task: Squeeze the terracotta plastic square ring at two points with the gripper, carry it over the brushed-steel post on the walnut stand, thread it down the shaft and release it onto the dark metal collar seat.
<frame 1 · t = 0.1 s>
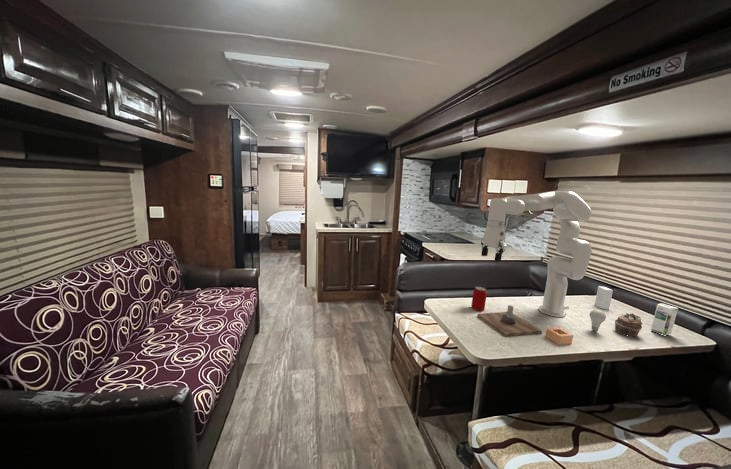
hand: (490, 258, 140), 31 cm above the table, fingers open, 9 cm apart
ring: (558, 339, 127), on the table
beverage can: (477, 309, 155), on the table
lightbulb: (594, 331, 138), on the table
syrup box: (660, 333, 140), on the table
cupcake: (625, 333, 138), on the table
skincare box: (601, 307, 169), on the table
post stand: (507, 324, 139), on the table
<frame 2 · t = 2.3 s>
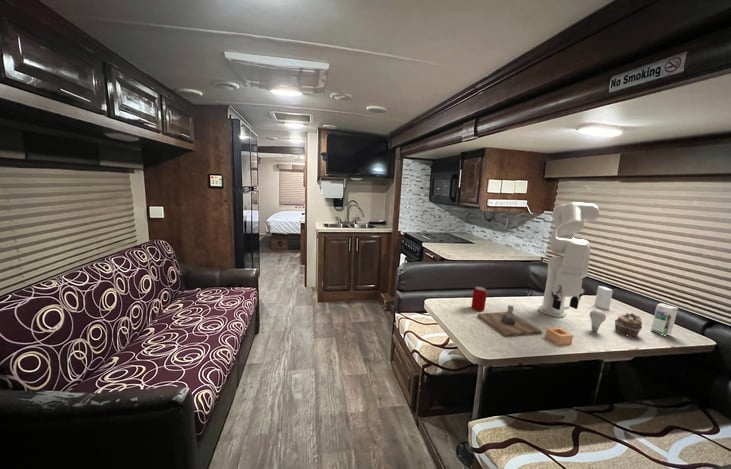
hand: (564, 308, 124), 15 cm above the table, fingers open, 9 cm apart
nothing on the table moved.
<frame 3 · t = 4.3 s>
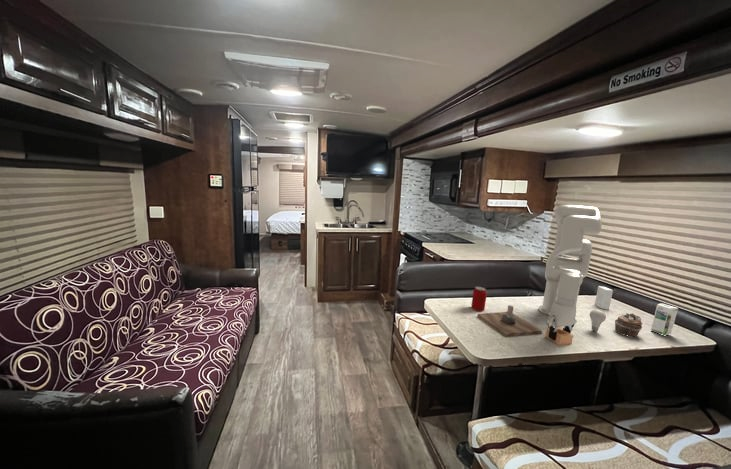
hand: (558, 337, 127), 1 cm above the table, fingers closed on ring, 7 cm apart
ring: (558, 340, 127), on the table, touching gripper
everything else where it was.
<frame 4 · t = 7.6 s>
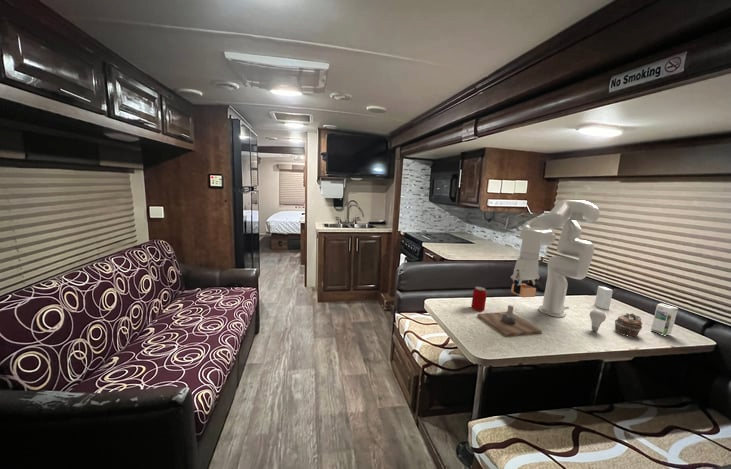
hand: (522, 292, 133), 18 cm above the table, fingers closed on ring, 7 cm apart
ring: (522, 294, 133), point 17 cm above the table, touching gripper
everything else where it was.
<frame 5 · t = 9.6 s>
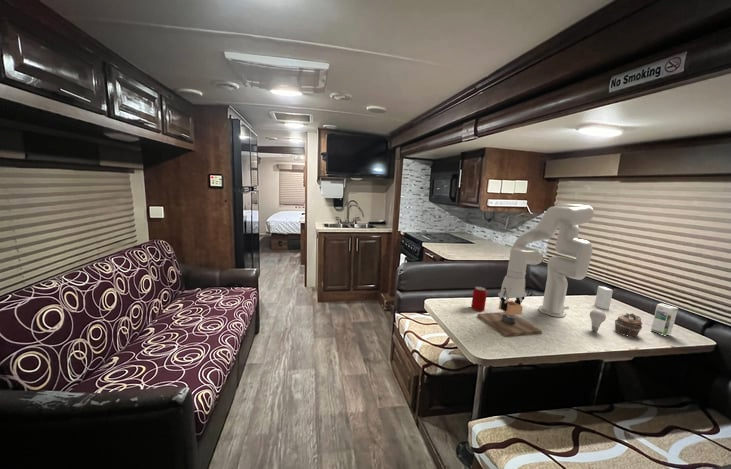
hand: (510, 309, 137), 8 cm above the table, fingers closed on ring, 7 cm apart
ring: (509, 311, 137), point 7 cm above the table, touching gripper
everything else where it was.
when the fingers open (6 cm above the table, at t = 11.2 s): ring drops 1 cm, resting on post stand.
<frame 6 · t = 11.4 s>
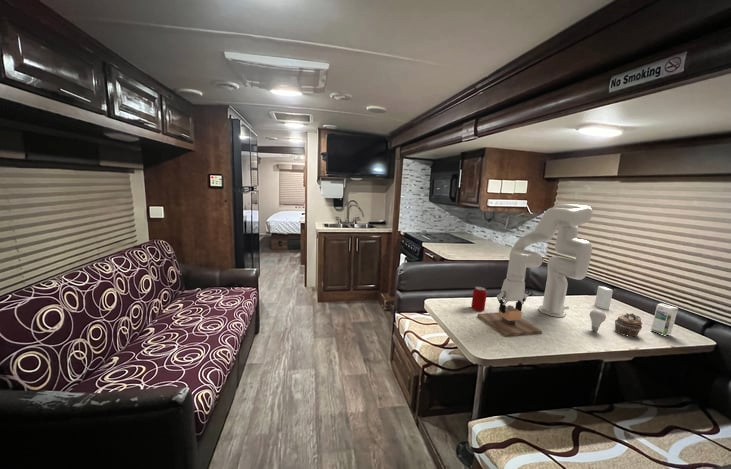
hand: (510, 311, 138), 7 cm above the table, fingers open, 9 cm apart
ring: (509, 317, 138), point 4 cm above the table, touching post stand
everything else where it was.
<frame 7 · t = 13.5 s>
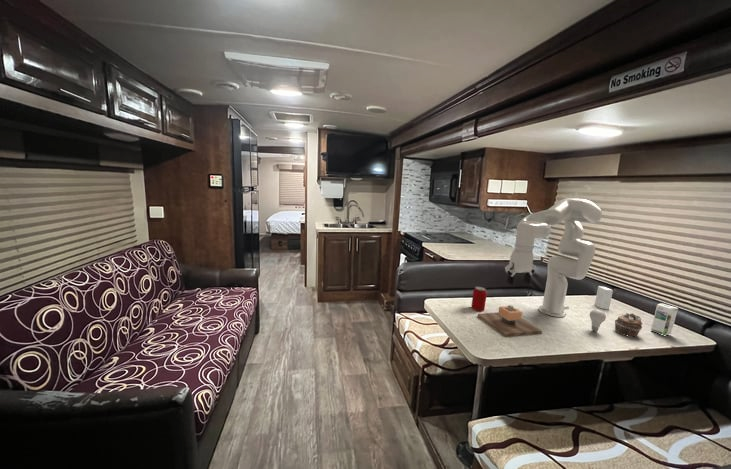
hand: (518, 283, 137), 21 cm above the table, fingers open, 9 cm apart
nothing on the table moved.
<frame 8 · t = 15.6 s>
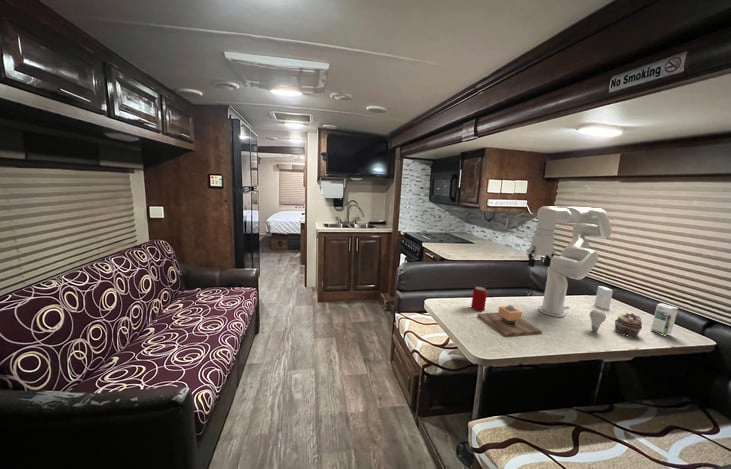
hand: (538, 266, 142), 28 cm above the table, fingers open, 9 cm apart
nothing on the table moved.
at the end: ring 0.1 cm off-centre on the post stand, point 4.0 cm above the post stand's base; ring tilted 0°; the gripper is holding nothing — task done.
